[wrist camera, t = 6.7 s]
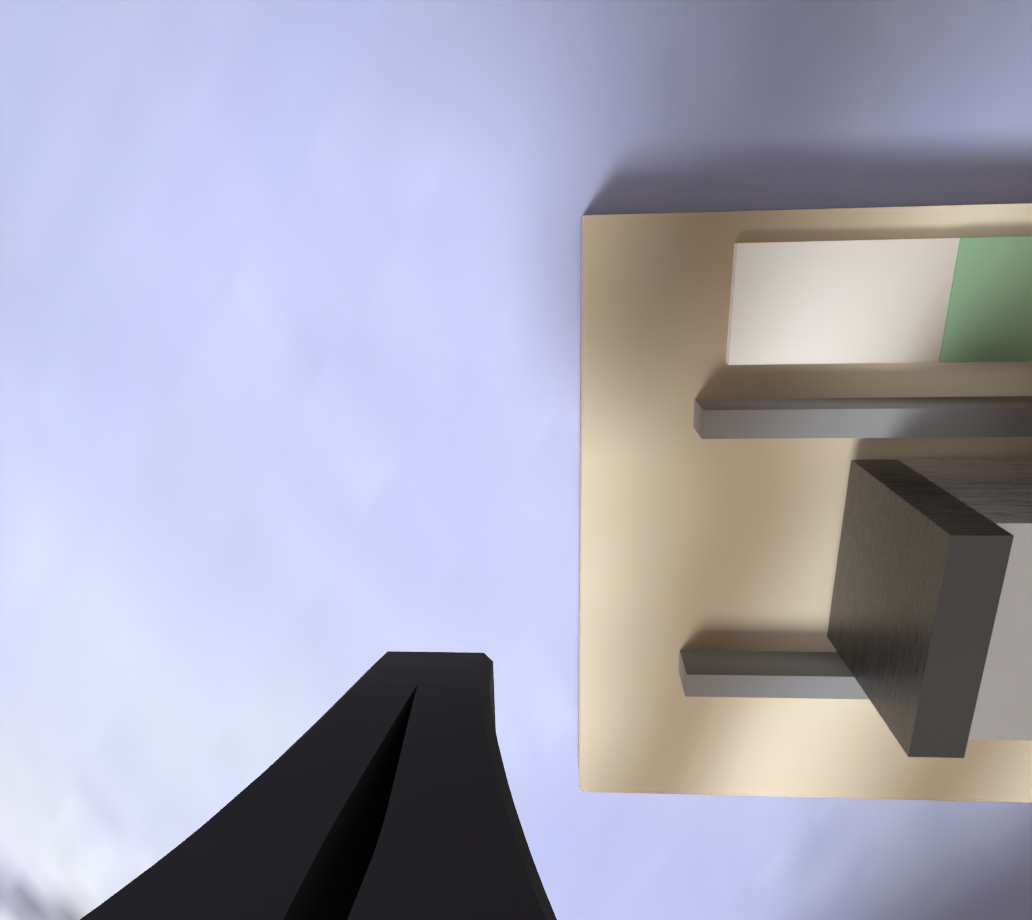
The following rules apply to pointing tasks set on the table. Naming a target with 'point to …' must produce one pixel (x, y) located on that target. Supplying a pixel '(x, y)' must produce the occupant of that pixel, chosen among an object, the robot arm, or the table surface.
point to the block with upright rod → (938, 598)
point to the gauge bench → (774, 479)
